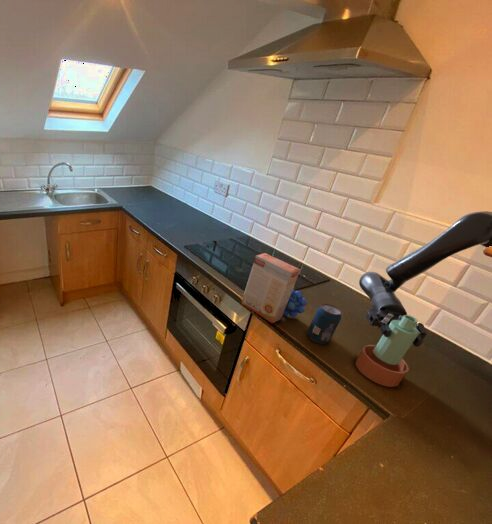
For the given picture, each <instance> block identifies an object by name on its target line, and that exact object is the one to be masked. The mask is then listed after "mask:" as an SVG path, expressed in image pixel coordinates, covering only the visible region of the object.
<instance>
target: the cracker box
mask: <svg viewBox="0 0 492 524" xmlns="http://www.w3.org/2000/svg"><path fill="white" fill-rule="evenodd" d="M252 263H253V264H252V266H251V270H250V273H249V276H248V280H247V282H246V286H245V289H244V293H243V295H242V299H241V303H240V304H241V305H242V306H245V307H246V308H247V309H249V310H250V311H252V312H253V313H256V314H257V315H258V316H260V317H261V318H263V319H264V320H266V321H267V322H269V323H271V324H274V323H276V322H278V321H281V320H282V318H283V313H284V310H285V308H286V305H287V303H288V300H289V298H290V295H291V292H292V290H293V289H294V287H295V285H296V282H297V280H298V277H299V275H300V272H301V268H298V267H296V266H294V265H292V264H290V263H288V262H286V261H283V260H281V259H279V258H277V257H275V256H272V255H270V254H268V253H266V252H264V253H260V254H256V255H255V257H254V261H253V262H252Z"/></svg>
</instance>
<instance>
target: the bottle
mask: <svg viewBox="0 0 492 524" xmlns="http://www.w3.org/2000/svg"><path fill="white" fill-rule="evenodd" d="M418 323H419V322H418V319H417V318H416V317H413V316H412V315H409V314H407V315H404V316H403V318H402V319H401V321H400V320H392V321H391V323H390V324H389V328H390V330H391V333H390V335H389V337H385V336H384V334H382V336H381V337H380V339H379V340H378V341H377V343H376V344H375V345H376V347H375V348H374V350H373V352H374V354H375V356H376V357H378V358H379V359H380V360H382V361H384V362H386V363H388V364H392V365H397V364H398V363H399V362H400V360H401V359H403V358H404V356H405V355H406V354H407V352H408V350H409V349H410V348H411V346H412V345H413V342H414V340H415V339H416V337H417V336H418V334H419V331H418V330H417V329H416V328H415V327H414V326H415V325H416V324H418Z"/></svg>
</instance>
